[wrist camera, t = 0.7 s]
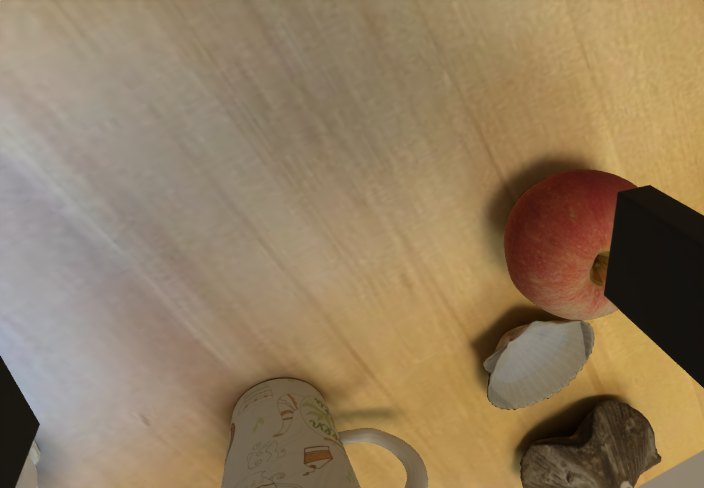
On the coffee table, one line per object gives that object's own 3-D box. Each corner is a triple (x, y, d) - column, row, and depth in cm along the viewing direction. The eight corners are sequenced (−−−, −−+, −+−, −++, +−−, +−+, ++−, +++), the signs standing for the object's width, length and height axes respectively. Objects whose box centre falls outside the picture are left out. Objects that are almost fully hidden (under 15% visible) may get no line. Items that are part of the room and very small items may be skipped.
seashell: (502, 385, 41) (604, 340, 38) (515, 423, 39) (624, 378, 36) (449, 340, 36) (562, 284, 33) (460, 380, 34) (582, 324, 31)
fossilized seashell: (531, 520, 43) (634, 461, 45) (581, 562, 37) (698, 491, 38) (493, 432, 43) (597, 377, 45) (536, 457, 37) (656, 392, 39)
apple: (462, 267, 33) (524, 351, 26) (506, 141, 30) (591, 199, 23) (574, 278, 35) (658, 358, 29) (626, 161, 32) (737, 220, 25)
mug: (211, 366, 33) (207, 516, 24) (411, 354, 36) (471, 484, 27) (215, 464, 37) (212, 622, 28) (394, 446, 39) (442, 585, 31)
